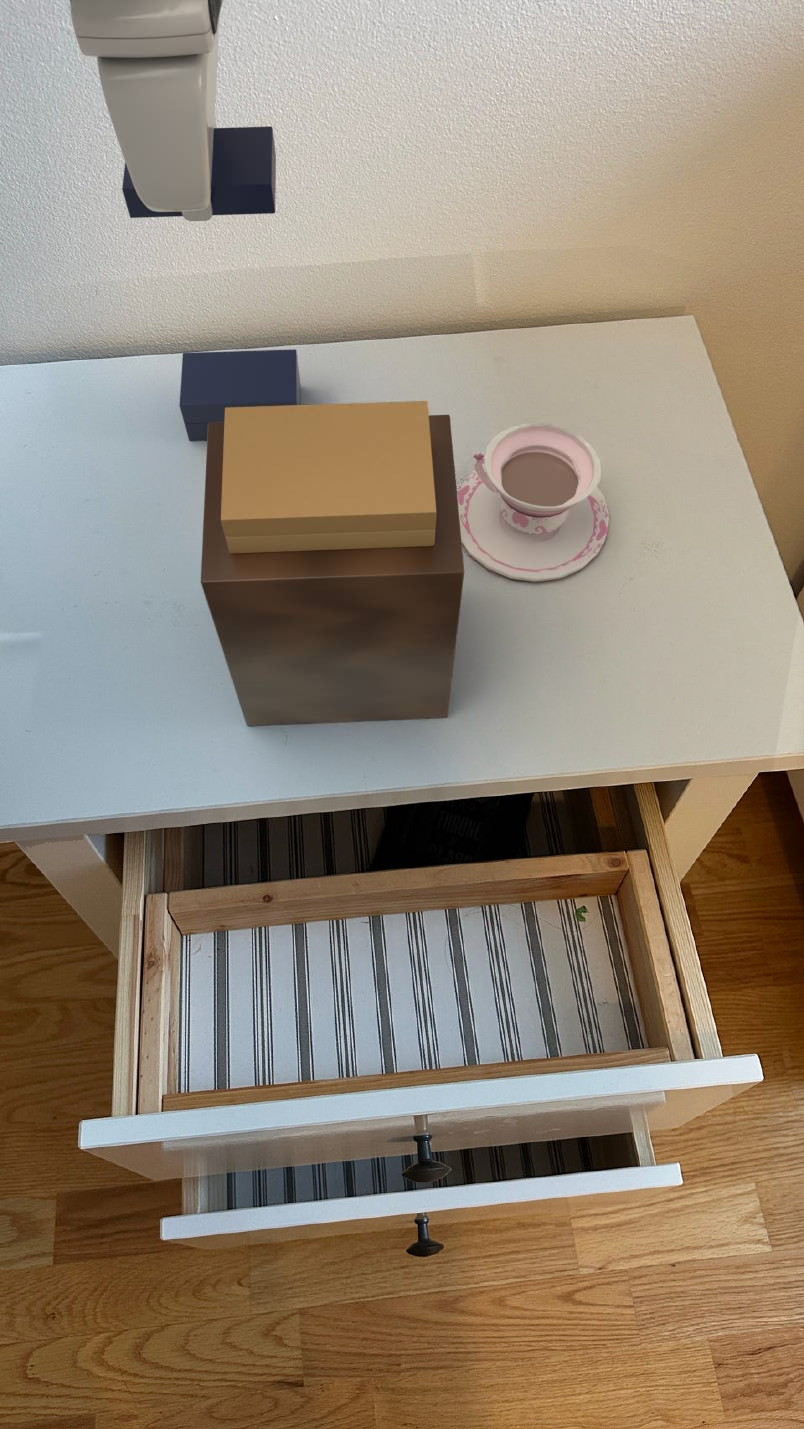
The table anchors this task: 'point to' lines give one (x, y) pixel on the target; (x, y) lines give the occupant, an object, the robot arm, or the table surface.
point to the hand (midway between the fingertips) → (201, 176)
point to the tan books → (328, 477)
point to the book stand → (338, 614)
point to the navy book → (229, 175)
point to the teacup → (534, 504)
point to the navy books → (235, 384)
